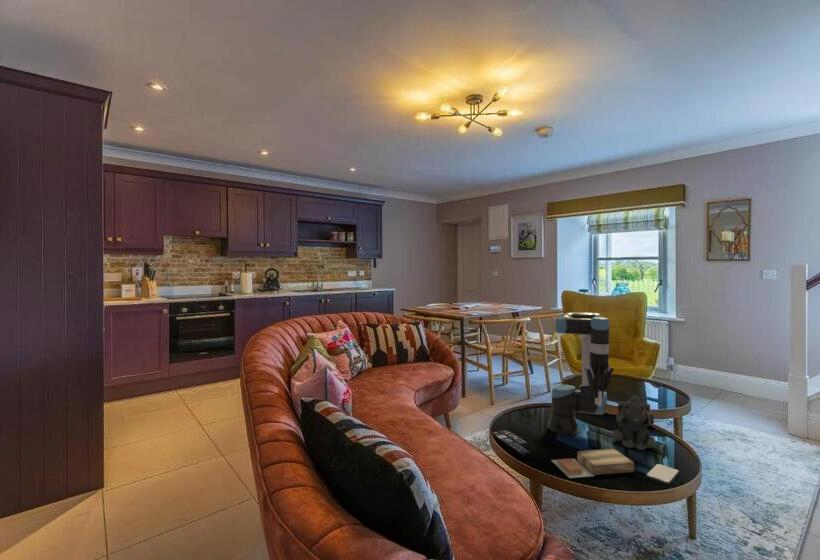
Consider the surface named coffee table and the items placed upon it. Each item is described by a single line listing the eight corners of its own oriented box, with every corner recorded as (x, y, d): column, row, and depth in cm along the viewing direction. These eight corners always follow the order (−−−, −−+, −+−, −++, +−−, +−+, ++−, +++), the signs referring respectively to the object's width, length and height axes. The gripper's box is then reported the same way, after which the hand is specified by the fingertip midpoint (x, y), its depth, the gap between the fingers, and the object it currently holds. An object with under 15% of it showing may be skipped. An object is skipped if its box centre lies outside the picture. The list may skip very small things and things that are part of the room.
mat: (551, 460, 178) (551, 460, 178) (574, 459, 179) (574, 458, 179) (569, 478, 163) (569, 477, 163) (594, 476, 165) (594, 475, 165)
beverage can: (638, 425, 222) (633, 433, 213) (635, 411, 223) (630, 419, 213) (657, 426, 216) (652, 434, 207) (654, 412, 217) (649, 420, 208)
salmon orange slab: (570, 458, 175) (570, 462, 175) (557, 459, 174) (557, 463, 174) (582, 468, 166) (582, 473, 166) (569, 469, 165) (569, 474, 165)
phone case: (656, 466, 174) (644, 478, 164) (656, 462, 174) (644, 474, 163) (680, 474, 168) (669, 487, 157) (680, 470, 168) (669, 483, 157)
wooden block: (577, 460, 179) (577, 451, 178) (613, 457, 181) (613, 448, 181) (594, 474, 166) (594, 465, 166) (633, 471, 168) (634, 462, 168)
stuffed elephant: (634, 455, 183) (635, 397, 183) (603, 436, 204) (604, 384, 203) (669, 451, 188) (670, 394, 187) (635, 433, 208) (636, 382, 207)
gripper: (590, 355, 172) (589, 408, 173) (618, 353, 173) (617, 407, 174) (580, 351, 179) (579, 402, 180) (607, 350, 181) (606, 401, 182)
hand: (598, 404), depth 177 cm, fingers closed
